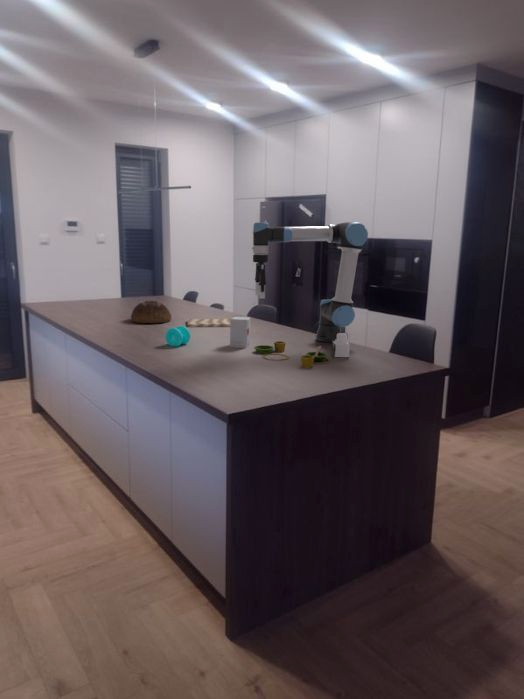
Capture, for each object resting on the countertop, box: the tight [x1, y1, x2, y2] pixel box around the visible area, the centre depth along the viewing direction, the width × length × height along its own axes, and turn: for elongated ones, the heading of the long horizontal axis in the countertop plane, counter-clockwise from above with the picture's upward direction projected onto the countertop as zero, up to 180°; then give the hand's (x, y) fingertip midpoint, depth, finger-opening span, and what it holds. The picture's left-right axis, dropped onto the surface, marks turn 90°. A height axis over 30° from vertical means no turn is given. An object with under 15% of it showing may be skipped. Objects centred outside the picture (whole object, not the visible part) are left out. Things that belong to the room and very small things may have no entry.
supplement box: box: [229, 316, 251, 349], centre depth 279 cm, size 9×9×15 cm
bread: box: [130, 300, 172, 324], centre depth 350 cm, size 26×27×13 cm
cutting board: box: [186, 318, 232, 328], centre depth 344 cm, size 30×20×2 cm, turn 100°
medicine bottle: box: [331, 331, 351, 358], centre depth 261 cm, size 7×7×12 cm
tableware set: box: [253, 340, 331, 368], centre depth 256 cm, size 41×28×6 cm
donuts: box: [165, 325, 191, 347], centre depth 278 cm, size 10×10×10 cm
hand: (260, 296), depth 272 cm, fingers open, 13 cm apart
